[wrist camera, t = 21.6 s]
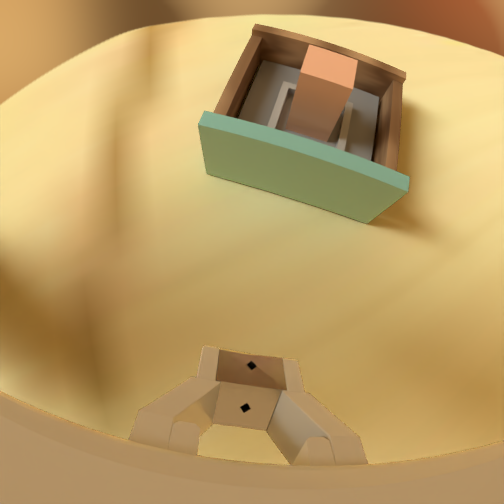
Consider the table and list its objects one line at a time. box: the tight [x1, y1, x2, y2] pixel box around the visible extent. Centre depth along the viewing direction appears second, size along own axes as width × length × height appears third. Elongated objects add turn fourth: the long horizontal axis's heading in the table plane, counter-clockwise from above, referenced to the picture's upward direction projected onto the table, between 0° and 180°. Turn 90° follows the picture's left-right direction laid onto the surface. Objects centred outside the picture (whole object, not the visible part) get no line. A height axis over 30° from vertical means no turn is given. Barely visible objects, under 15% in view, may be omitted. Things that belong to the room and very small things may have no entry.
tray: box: [198, 60, 410, 224], centre depth 29 cm, size 17×16×9 cm
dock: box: [214, 24, 406, 171], centre depth 31 cm, size 18×16×6 cm
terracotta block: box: [285, 45, 358, 142], centre depth 28 cm, size 4×4×9 cm
